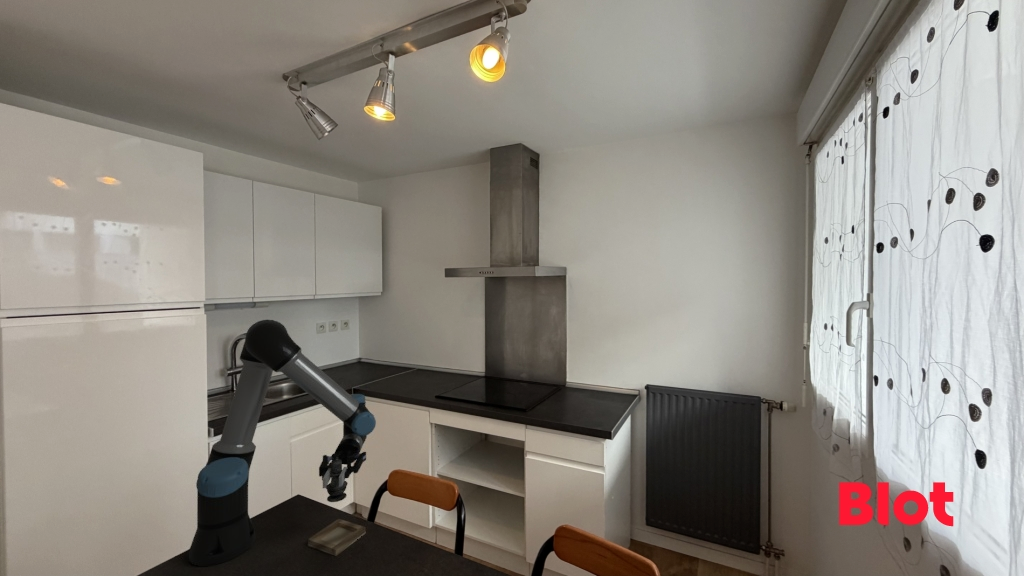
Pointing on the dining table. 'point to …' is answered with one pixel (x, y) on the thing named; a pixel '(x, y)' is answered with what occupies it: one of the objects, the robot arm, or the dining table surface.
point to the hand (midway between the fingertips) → (332, 482)
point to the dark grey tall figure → (336, 483)
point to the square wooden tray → (336, 537)
